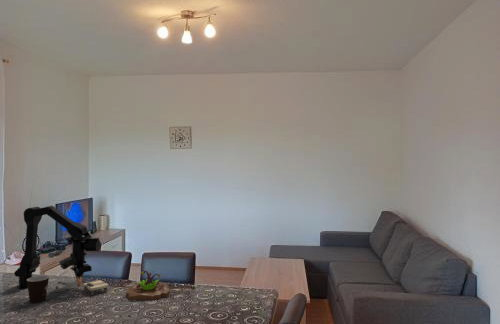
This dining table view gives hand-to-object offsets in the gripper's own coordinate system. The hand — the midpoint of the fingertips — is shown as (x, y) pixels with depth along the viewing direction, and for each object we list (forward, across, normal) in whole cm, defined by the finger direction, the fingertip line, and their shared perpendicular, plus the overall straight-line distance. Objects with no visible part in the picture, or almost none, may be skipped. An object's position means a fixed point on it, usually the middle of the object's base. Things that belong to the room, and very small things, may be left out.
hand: (78, 282), depth 182 cm
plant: (+2, +33, +20) cm, 38 cm away
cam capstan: (+2, +1, -5) cm, 6 cm away
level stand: (+2, +10, +1) cm, 11 cm away
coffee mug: (+2, +6, -18) cm, 19 cm away
